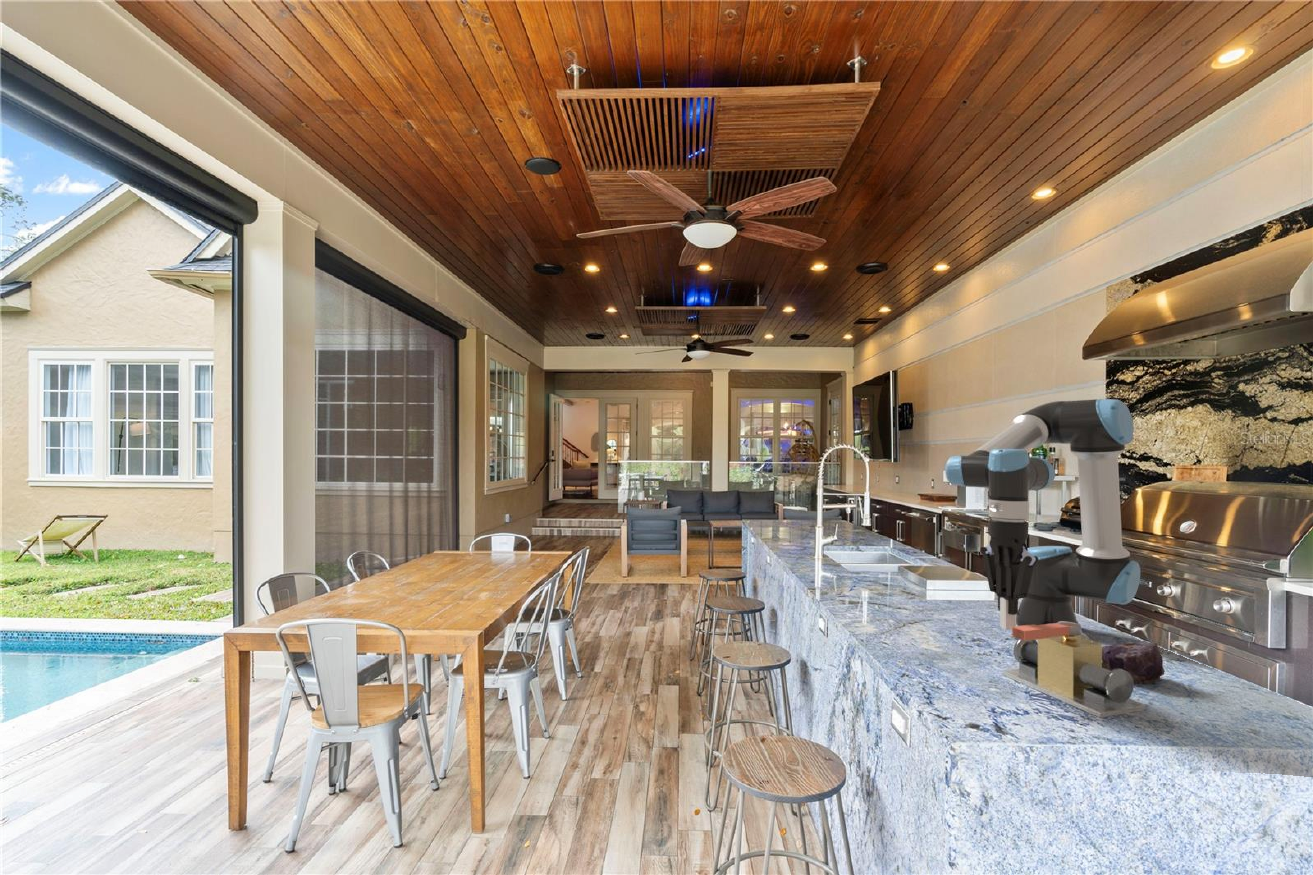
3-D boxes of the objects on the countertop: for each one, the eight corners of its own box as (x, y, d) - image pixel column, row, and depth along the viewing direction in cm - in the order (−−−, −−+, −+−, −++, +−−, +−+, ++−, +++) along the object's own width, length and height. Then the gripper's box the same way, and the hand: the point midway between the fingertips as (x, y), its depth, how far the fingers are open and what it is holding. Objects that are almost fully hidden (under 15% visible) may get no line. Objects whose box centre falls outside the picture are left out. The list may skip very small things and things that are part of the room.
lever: (1067, 628, 130) (1067, 619, 130) (1085, 634, 126) (1085, 625, 126) (1010, 635, 126) (1010, 626, 126) (1027, 641, 122) (1027, 631, 122)
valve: (1043, 669, 140) (1043, 617, 140) (1144, 709, 119) (1144, 648, 119) (1003, 675, 136) (1003, 621, 137) (1100, 717, 115) (1100, 654, 116)
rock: (1099, 675, 140) (1121, 692, 130) (1092, 638, 140) (1114, 652, 131) (1157, 672, 137) (1184, 688, 127) (1149, 634, 138) (1176, 648, 128)
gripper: (970, 516, 136) (970, 620, 136) (1020, 524, 123) (1020, 638, 123) (996, 515, 138) (996, 618, 138) (1048, 522, 126) (1048, 635, 125)
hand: (1007, 627), depth 131 cm, fingers closed
